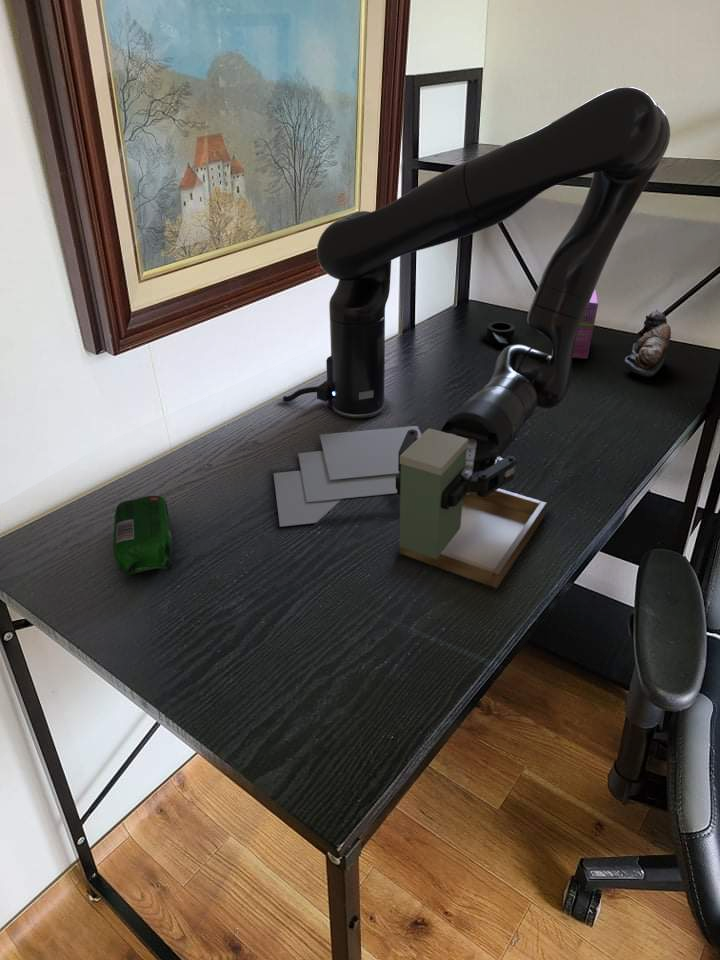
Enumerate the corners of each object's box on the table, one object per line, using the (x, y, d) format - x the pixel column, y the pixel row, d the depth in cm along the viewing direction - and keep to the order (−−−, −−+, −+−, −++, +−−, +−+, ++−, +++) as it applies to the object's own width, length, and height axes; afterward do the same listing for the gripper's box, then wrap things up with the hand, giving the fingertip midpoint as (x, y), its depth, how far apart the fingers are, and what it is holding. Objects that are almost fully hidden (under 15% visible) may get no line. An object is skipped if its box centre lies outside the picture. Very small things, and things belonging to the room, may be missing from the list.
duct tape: (526, 335, 157) (528, 323, 156) (505, 351, 151) (506, 337, 149) (494, 328, 161) (495, 315, 160) (472, 342, 154) (473, 329, 153)
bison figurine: (658, 384, 137) (670, 333, 131) (619, 377, 140) (630, 327, 134) (665, 360, 146) (677, 311, 140) (629, 354, 149) (639, 306, 143)
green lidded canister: (397, 546, 82) (399, 455, 75) (424, 515, 86) (428, 427, 80) (436, 560, 80) (441, 467, 73) (461, 528, 84) (468, 438, 78)
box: (588, 359, 147) (598, 302, 140) (559, 357, 148) (568, 300, 141) (585, 339, 155) (595, 285, 149) (558, 337, 156) (566, 283, 150)
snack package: (118, 595, 90) (110, 562, 87) (119, 521, 102) (112, 490, 99) (177, 584, 91) (171, 552, 88) (171, 513, 104) (165, 483, 101)
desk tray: (399, 554, 96) (399, 539, 94) (456, 489, 108) (457, 475, 107) (496, 590, 90) (498, 574, 88) (544, 517, 102) (546, 502, 101)
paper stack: (454, 508, 104) (455, 504, 104) (279, 526, 101) (279, 522, 100) (417, 429, 123) (417, 425, 123) (269, 442, 120) (269, 439, 120)
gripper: (433, 386, 90) (363, 447, 78) (545, 412, 84) (487, 484, 72) (431, 438, 94) (364, 504, 82) (537, 467, 88) (481, 544, 76)
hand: (422, 494), depth 77 cm, fingers closed on green lidded canister, 4 cm apart
